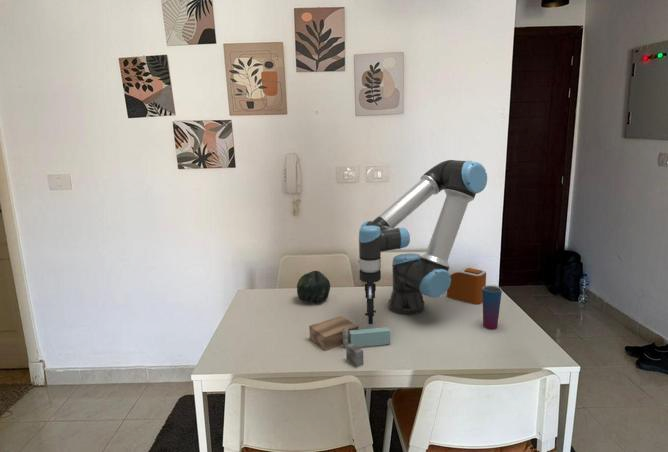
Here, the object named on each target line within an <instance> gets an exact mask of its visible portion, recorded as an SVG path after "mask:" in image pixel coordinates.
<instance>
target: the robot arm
mask: <svg viewBox="0 0 668 452" xmlns="http://www.w3.org/2000/svg"><path fill="white" fill-rule="evenodd" d="M487 183H488V173H487V172H486V168H485V167H484V165H483V164H482V163H480V162H478V161H472V160H454V159H449V160H448V159H447V160H444V161H441V162H440V163H437V164H436V165H434V166H433V167H431V168H430V169H429V170H427V171H426V172H425V173H424V174H423V175H421V176H420V180H419V181H418V182H417V183H416V184H415V185H413V186H412V187H411V188H410V189H409V190H408V191H407V192H405V193H404V194H403V195H402V196H400V197H399V198H398V199H396V201H395V202H393V203H392V204H391V205H390V206H389V207H388V208H386V209H385V210H384V211H383V212H382V213H381V214H379V215H378V216H377V217H376V218H375V219H374V220H367V221H364V222H363V223H362V224H361V225H360V228H359V230H358V249H359V250H358V251H359V253H358V254H359V256H358V257H359V259H358V260H357V263H358V264H359V269H360V270H359V280H360V281H361V282H363V283H364V291H365V298H366V312H365V313H364V316H366V329H372V328H375V313H377V310H375V305H374V304H375V303H374V301H375V300H374V299H375V298H376V290H377V289H376V288H377V286H376V285H377V284H376V283H377V282H379V281H381V276H382V275H381V274H382V273H381V271H382V270H381V267H382V266H381V265H382V264H381V261H382V260H381V259H382V257H381V253H382V252H389V251H392V250H393V251H394V250H400V249H404V248H406V247H408V246H409V245H410V243H411V242H410V241H411V234H410V232H409V230H408V229H407V228H405V227H398V225H399V224H400V223H402V222H403V221H404V220H406V218H407V217H409V216H410V215H411V214H412V213H413V212H414V211H415V210H417V209H418V208H419V207H420V206H421V205H423V203H425V202H426V201H427V200H428V199H429V198H431V197H432V196H433V195H438V194H439V193H441V192H442V191H444V194H445V195H446V197H445V199H444V201H443V205H442V207H441V210H440V213H439V216H438V219H437V221H436V225H435V227H434V228H433V229H434V230H433V233H432V235H431V237H430V240H429V244H428V246H427V249H426V252H425V254H422V255H421V254H419V253H402V254H401V253H400V254H396V255H395V256H393V258H392V264H391V267H392V290H391V294H390V298H389V300H388V309H389V310H390V312H391V311H392V312H393V313H396V314H398V315H406V316H407V315H417V314H421V313H422V312H424V311H425V307H426V303H425V300H424V296H426V297H429V298H432V299H433V298H434V299H435V298H436V299H437V298H440V297H441V296H443V295H445V294H446V293H447V290H448V288H449V287H450V284H451V278H450V277H451V276H450V275H451V274H450V273H449V270H450V264H449V263H448V260H449V258H450V255H451V252H452V249H453V247H454V244H455V242H456V238H457V235H458V232H459V229H460V226H461V224H462V221H463V219H464V216H465V213H466V210H467V208H468V204H469V203H471V202H472V201H475V200H474V199H475V197H476V195H477V194H480V193H481V192H482V191H484V190H485V188H486V186H487Z"/></svg>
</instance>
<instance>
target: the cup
mask: <svg viewBox="0 0 668 452" xmlns="http://www.w3.org/2000/svg"><path fill="white" fill-rule="evenodd" d="M502 292H503V288H501V287H500V286H496V285H486V286H484V287H483V288H482V294H483V302H482V324H483V328H485V329H487V330H496V329H498V325H499V315H500V307H501V300H502V294H503V293H502Z"/></svg>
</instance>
